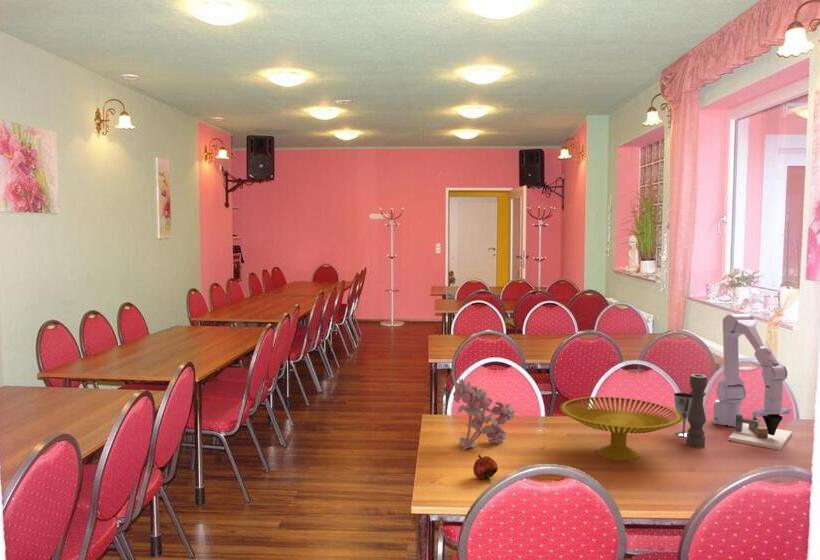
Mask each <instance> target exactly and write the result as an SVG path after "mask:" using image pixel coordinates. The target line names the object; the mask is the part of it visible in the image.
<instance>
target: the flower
mask: <svg viewBox="0 0 820 560" xmlns="http://www.w3.org/2000/svg"><path fill="white" fill-rule="evenodd" d="M452 395H453V400H454V402H456V403H457V404H459V403H460V401H462V403H464V404H466V405H464V404H463V405H459V407H458V409H457V414H460V412H463V411H464V412H466V416H469V417H468V423H467V424H466V425H465V427H467V434H466V437H463V436H462V437H459V443H460V445H461V447H462V449H461V451H462V452H464V451H465V450H467V449H469V448H473V449H474V448H475V445H476V444H475V443H476V442H475V441H476V440H477V439H478V438H479V437H480V435H481V434H484V435H486V437H487V438H488V439H487V440H488V442H489V443H495V442H498V443H499V444H503V443H504V440H508V438H507V434H508V432H507V431H505V430H504V429H503V427H502V425H504V424H505V423H506V422H507V421H512V419H513V418H514V417H515V416H516V415H515V414H516V413H517V411H515V408H513V407H510V406H511V405H512V404H511V403H507V404H505V405H504V403H503V402H502V401H496V402H494V404H495V405H493V407H492V408H490V406H491V404H492V403H493V399H492V398H491V397H489V396H487V392H486V389H485V388H484V389H483V388H478V386H477V385H476V384H475V385H473V386H472V385H471V381H467V383H466V381H464V379H463V378H458V381H454V392H453V393H452ZM486 412H489V413H490V414H489V415H486ZM494 415H495V416H498V417H497V418H494ZM472 416H473V417H474V418H472ZM489 422H492V423H491V424H488V423H489ZM484 423H485V424H488V425H484V427H483V424H484ZM472 428H474V429H475V431H474V433H472V435H471V437H470V433H471V430H472Z"/></svg>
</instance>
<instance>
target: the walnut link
mask: <svg viewBox="0 0 820 560" xmlns="http://www.w3.org/2000/svg"><path fill="white" fill-rule="evenodd" d="M757 420H759V424H758V425H755V424H749V423H748V424H749V428H751V429H752V430H753V431H754V432H755V434H756V435H757V436H758V437H760V438H768V429H767V428H766V427H767V426H765V425H764V424H763V423H762V422H761V421H762V420H761V419H758V418H757Z"/></svg>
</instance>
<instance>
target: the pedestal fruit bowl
mask: <svg viewBox="0 0 820 560" xmlns="http://www.w3.org/2000/svg"><path fill="white" fill-rule="evenodd" d="M609 398H610V399H609ZM604 399H605V400H604ZM600 401H601V402H600ZM605 401H606V402H605ZM596 402H597V403H596ZM635 402H636V403H635ZM588 403H589V404H588ZM640 403H641V404H640ZM593 404H594V405H593ZM606 404H607V405H606ZM615 404H616V407H615ZM624 404H625V407H624ZM629 404H630V406H629ZM639 404H640V405H639ZM645 404H646V405H645ZM644 405H645V406H644ZM633 407H634V408H633ZM658 407H659V408H658ZM628 408H629V409H628ZM559 410H560V411H561V413H562V414H564V415H565V416H567V417H569V418H571V419H572V420H574V421H575V422H576V421H577V422H579V424H582V425H584V426H586V427H590V428H591V429H595V430H601V432H602V431H603V432H604V431H605V432H609V433H610V444H608V445H606V446H603V447H600V448H598V449H597V450H596V453H597V454H598V455H599V456H600V457H602V458H604V459H609V460H612V461H619V460H630V461H634V459H635V460H638V459H639V458H640V454H639V452H637V451H636V450H634V449H633V448H630V447H629V446H627V437H628V435H627V434H629V433H630V434H635V435H637V434H647V433H653V432H657V431H659V430H663V429H666V428H670V427H673V426H675V425H677V424H680V422H682V417H683V416H682V415H680V414H681V413H678V412H677V411H676V409H674V408H672V407H670V406H667V405H663V404H662V403H660V404H659V403H658V402H653V401H648V400H644V399H637V398H630V397H629V398H627V397H621V396H620V397H617V396H588V397H587V396H586V397H579V398H571V399H568V400H565V401H564V402H563V403H561V404H560V405H559ZM637 458H638V459H637Z"/></svg>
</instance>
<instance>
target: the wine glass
mask: <svg viewBox="0 0 820 560" xmlns="http://www.w3.org/2000/svg"><path fill="white" fill-rule="evenodd" d="M691 404H692V396H691V394H690V392H681V391H680V392H675V393H673V405H674V410H676V411H677V412H678V413H681V414H680V415H682V416H683V417H682V420H681V422H682V431H674V432H673V435H674V436H676V437H679V436H680V437H681V438H687V434H688V431H686V422H687V421H688V420H687V419H688V414H689V411H690V407H691Z"/></svg>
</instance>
